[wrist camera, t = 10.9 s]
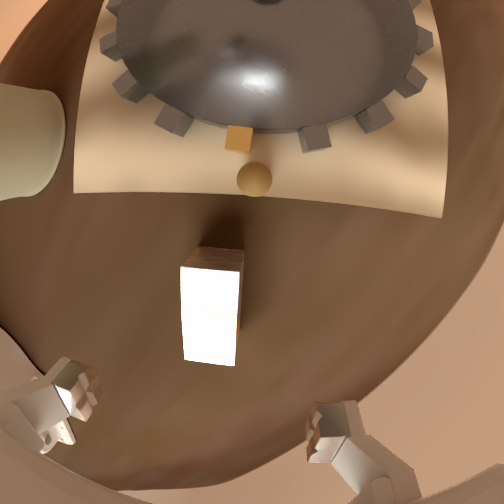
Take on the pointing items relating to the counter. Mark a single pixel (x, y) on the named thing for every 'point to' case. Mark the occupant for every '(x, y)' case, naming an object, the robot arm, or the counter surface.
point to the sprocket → (267, 63)
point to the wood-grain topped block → (212, 304)
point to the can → (29, 139)
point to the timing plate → (266, 145)
